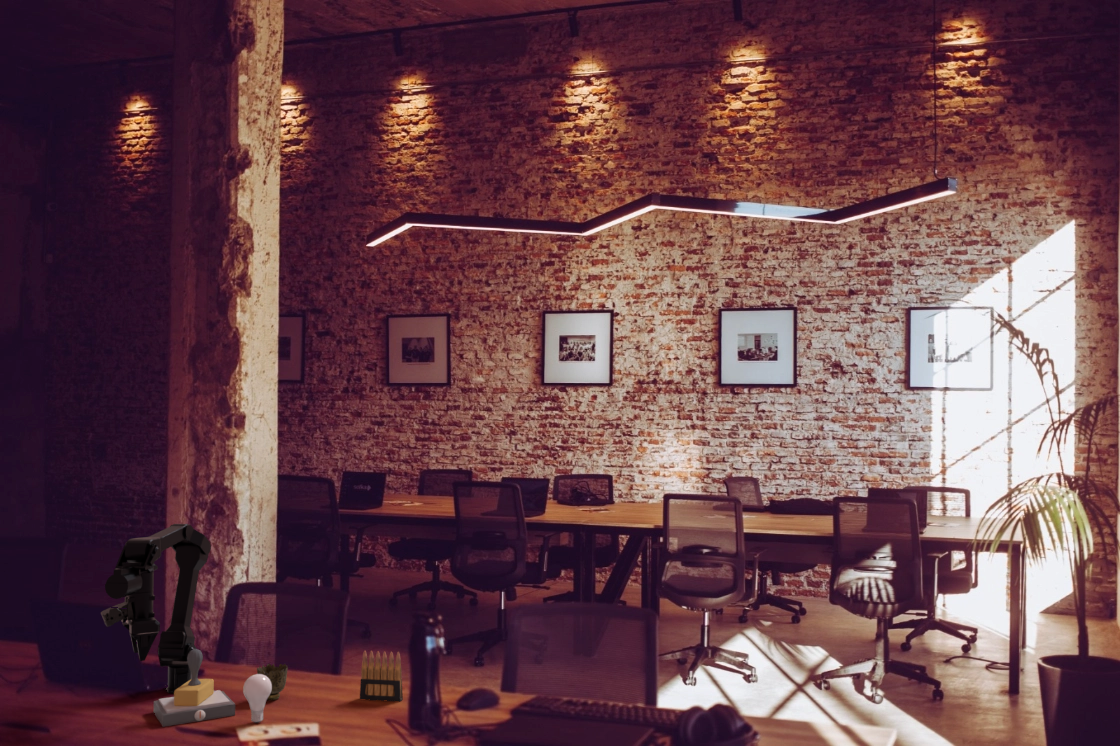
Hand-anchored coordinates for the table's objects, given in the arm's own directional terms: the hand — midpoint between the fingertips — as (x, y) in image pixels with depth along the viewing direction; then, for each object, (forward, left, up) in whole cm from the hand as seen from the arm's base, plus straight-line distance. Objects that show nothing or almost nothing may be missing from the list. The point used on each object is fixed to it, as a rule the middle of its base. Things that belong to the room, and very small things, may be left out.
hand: (139, 656), depth 229 cm
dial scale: (+9, +11, -13) cm, 19 cm away
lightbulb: (+24, +22, -13) cm, 35 cm away
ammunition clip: (+22, +53, -13) cm, 59 cm away
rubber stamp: (+9, +11, -10) cm, 17 cm away
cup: (+7, +30, -13) cm, 33 cm away
